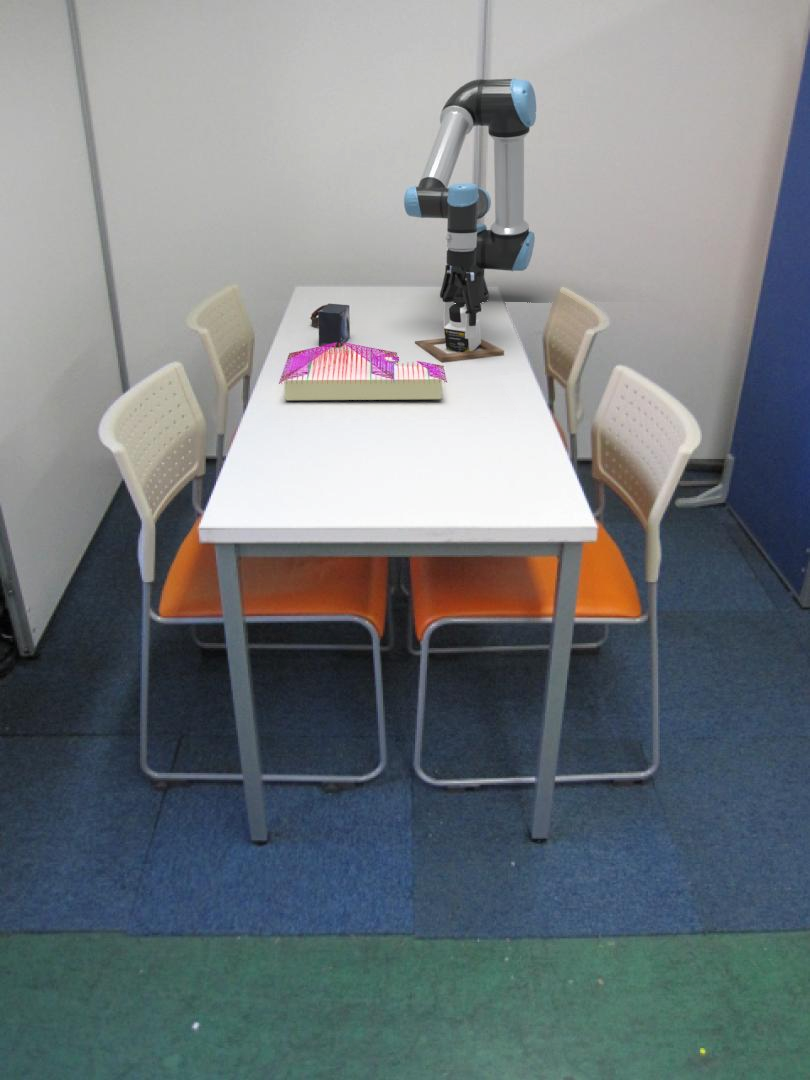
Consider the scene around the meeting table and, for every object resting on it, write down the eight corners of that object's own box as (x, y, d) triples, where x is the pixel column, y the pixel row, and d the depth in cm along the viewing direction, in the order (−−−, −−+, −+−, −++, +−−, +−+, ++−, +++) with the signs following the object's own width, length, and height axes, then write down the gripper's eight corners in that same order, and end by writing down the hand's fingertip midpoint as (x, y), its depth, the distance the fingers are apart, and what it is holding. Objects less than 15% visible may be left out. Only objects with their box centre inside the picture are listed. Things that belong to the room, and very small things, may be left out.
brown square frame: (473, 340, 246) (473, 335, 245) (503, 356, 231) (504, 350, 230) (414, 346, 239) (414, 341, 239) (441, 363, 225) (441, 357, 224)
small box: (341, 351, 235) (340, 312, 230) (318, 350, 236) (316, 311, 231) (351, 341, 244) (350, 303, 239) (329, 340, 245) (327, 302, 241)
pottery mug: (348, 334, 252) (334, 310, 247) (320, 348, 254) (305, 325, 249) (349, 316, 261) (335, 293, 256) (321, 329, 263) (307, 307, 259)
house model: (440, 369, 221) (440, 328, 217) (447, 400, 199) (448, 356, 194) (290, 370, 221) (287, 329, 216) (279, 401, 198) (276, 357, 193)
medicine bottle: (446, 351, 235) (441, 309, 227) (458, 339, 239) (454, 298, 232) (469, 355, 232) (465, 313, 224) (481, 343, 236) (478, 301, 229)
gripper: (428, 242, 232) (427, 322, 242) (469, 257, 211) (466, 344, 221) (454, 241, 235) (452, 320, 244) (497, 255, 214) (493, 341, 224)
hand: (459, 332), depth 233 cm, fingers open, 13 cm apart
